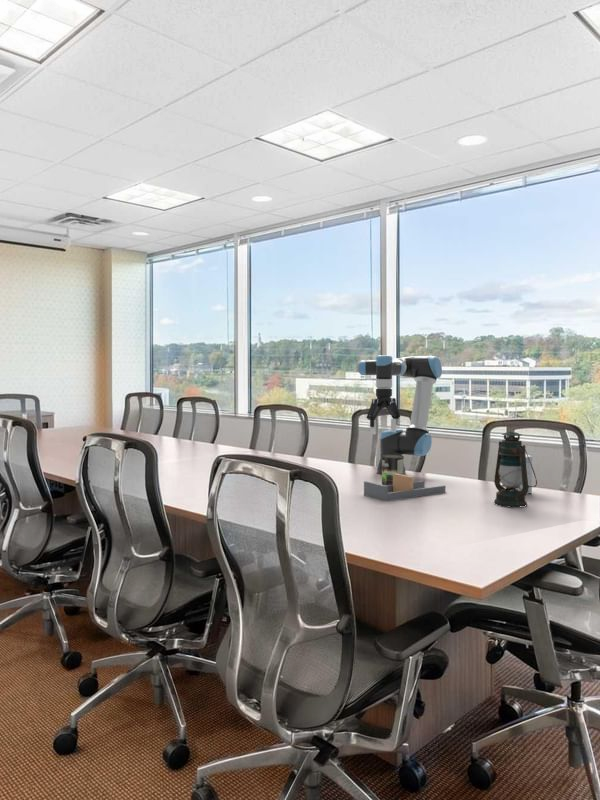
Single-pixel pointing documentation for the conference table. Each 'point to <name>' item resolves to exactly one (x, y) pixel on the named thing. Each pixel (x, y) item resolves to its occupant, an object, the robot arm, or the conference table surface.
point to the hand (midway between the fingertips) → (383, 433)
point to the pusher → (402, 482)
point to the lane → (382, 491)
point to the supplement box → (528, 474)
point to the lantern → (511, 472)
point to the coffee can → (391, 468)
